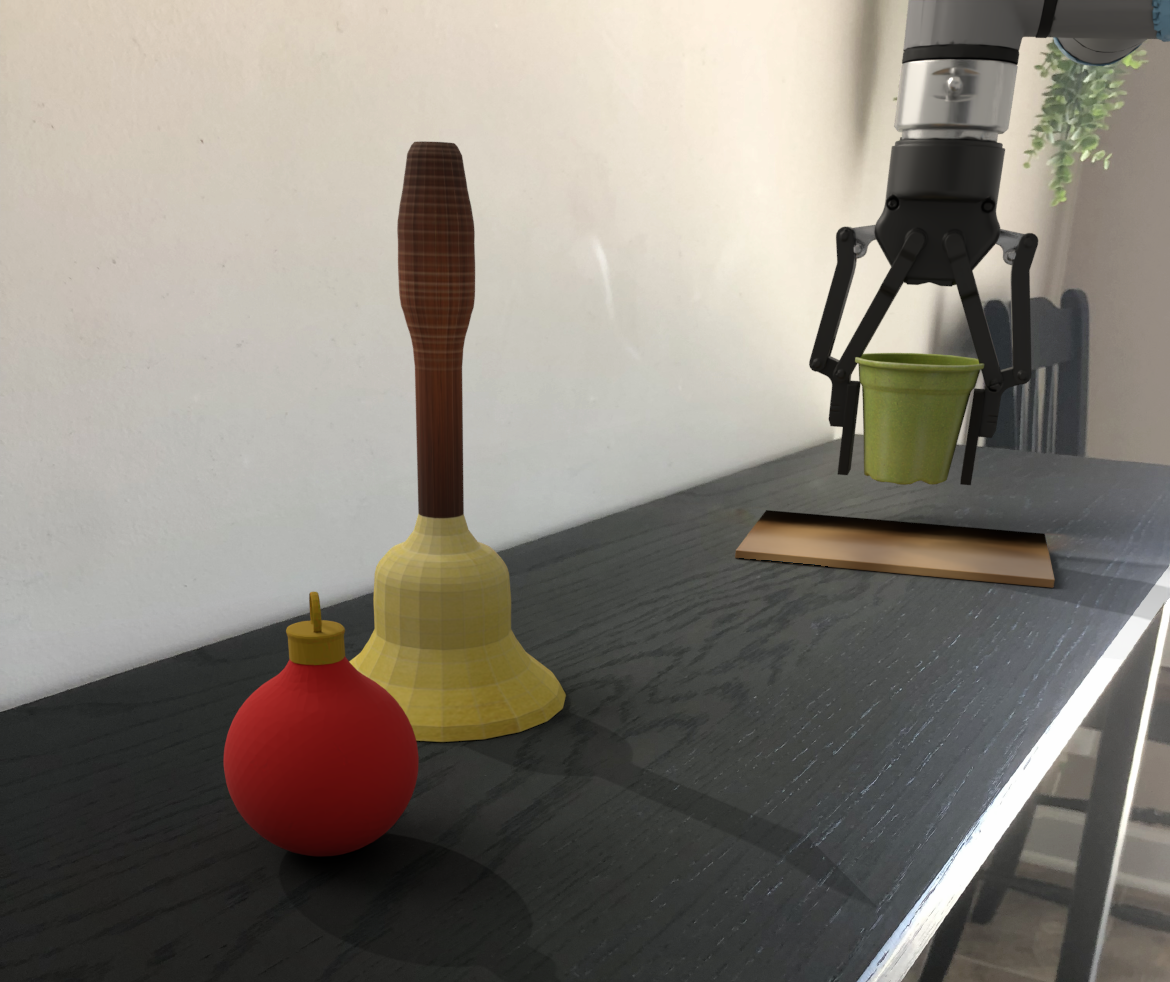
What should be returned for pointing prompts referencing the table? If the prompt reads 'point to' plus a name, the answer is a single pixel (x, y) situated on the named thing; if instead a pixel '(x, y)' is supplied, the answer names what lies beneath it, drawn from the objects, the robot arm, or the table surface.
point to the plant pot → (913, 413)
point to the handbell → (446, 502)
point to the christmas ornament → (320, 749)
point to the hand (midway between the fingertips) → (904, 476)
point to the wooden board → (901, 548)
